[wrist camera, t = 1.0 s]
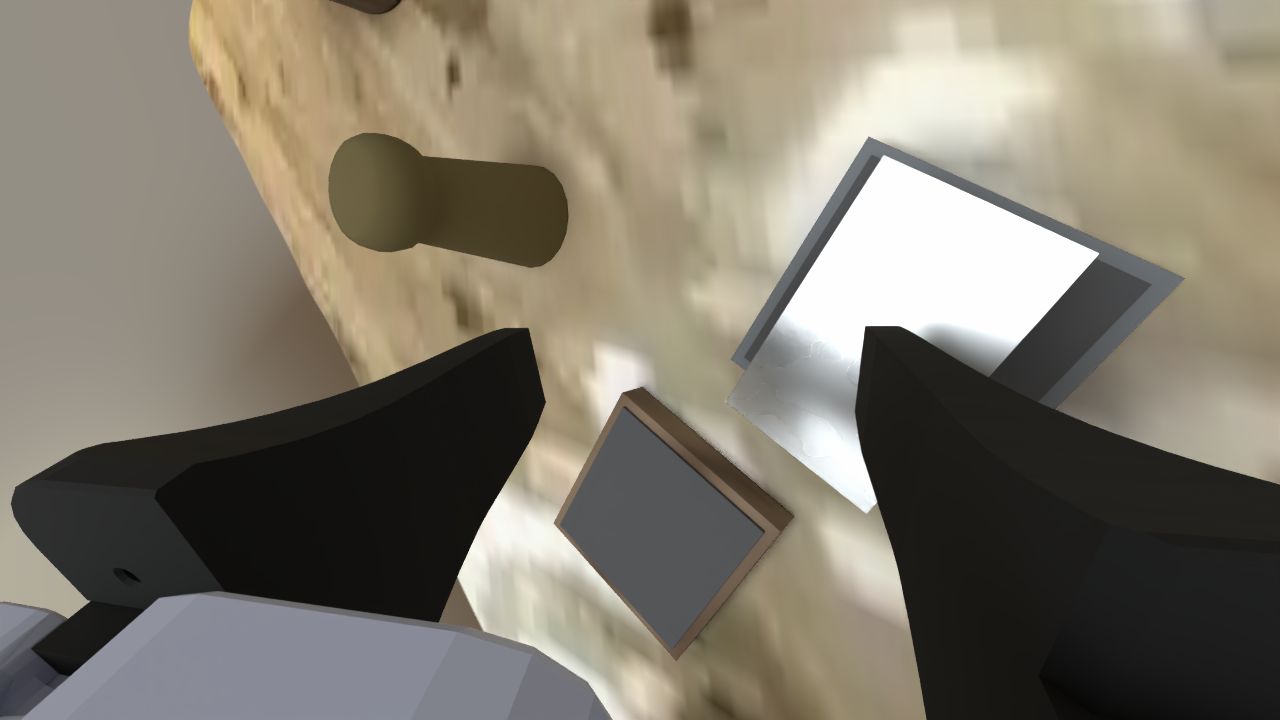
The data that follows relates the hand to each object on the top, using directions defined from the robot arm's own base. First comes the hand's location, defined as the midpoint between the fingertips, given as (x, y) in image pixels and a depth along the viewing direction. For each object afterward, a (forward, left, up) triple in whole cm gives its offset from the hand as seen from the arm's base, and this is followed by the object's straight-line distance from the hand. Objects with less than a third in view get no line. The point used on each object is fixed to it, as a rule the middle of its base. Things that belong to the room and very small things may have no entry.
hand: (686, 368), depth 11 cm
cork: (+19, +4, -13) cm, 23 cm away
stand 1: (+2, +13, -13) cm, 19 cm away
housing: (-2, -2, -11) cm, 11 cm away
